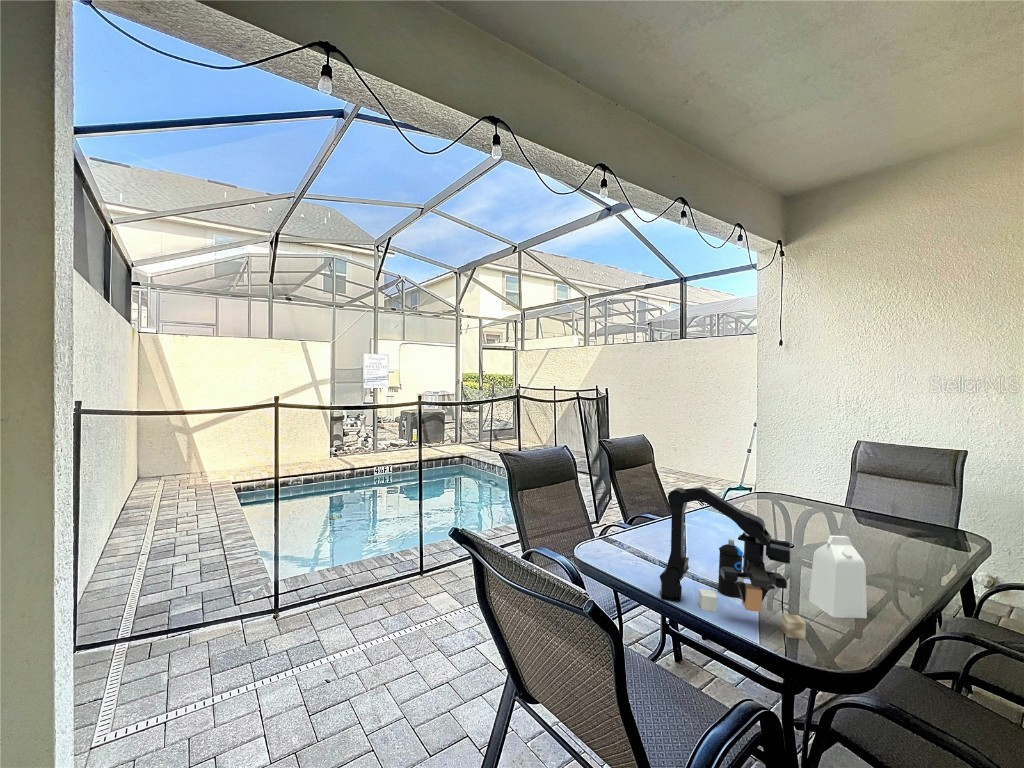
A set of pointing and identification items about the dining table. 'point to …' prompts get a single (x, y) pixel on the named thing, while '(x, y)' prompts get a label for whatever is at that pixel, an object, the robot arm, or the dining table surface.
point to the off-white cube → (708, 600)
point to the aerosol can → (729, 558)
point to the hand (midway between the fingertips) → (751, 602)
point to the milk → (839, 579)
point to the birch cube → (793, 626)
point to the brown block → (752, 598)
